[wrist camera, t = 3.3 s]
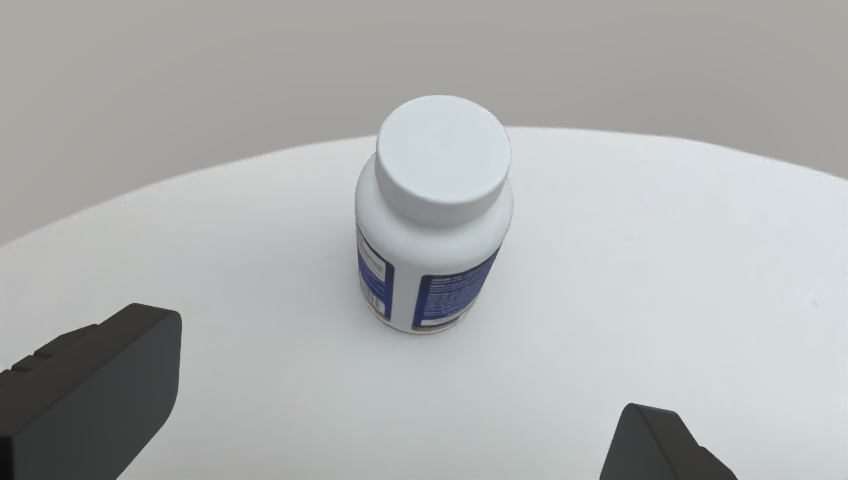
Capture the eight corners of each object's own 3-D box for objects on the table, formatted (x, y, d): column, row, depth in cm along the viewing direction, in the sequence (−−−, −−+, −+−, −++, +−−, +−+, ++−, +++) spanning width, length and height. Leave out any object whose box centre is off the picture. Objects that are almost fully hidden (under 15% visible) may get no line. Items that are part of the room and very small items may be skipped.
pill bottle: (489, 246, 25) (550, 102, 17) (462, 352, 23) (518, 248, 14) (380, 214, 25) (384, 57, 17) (341, 316, 23) (323, 192, 14)
